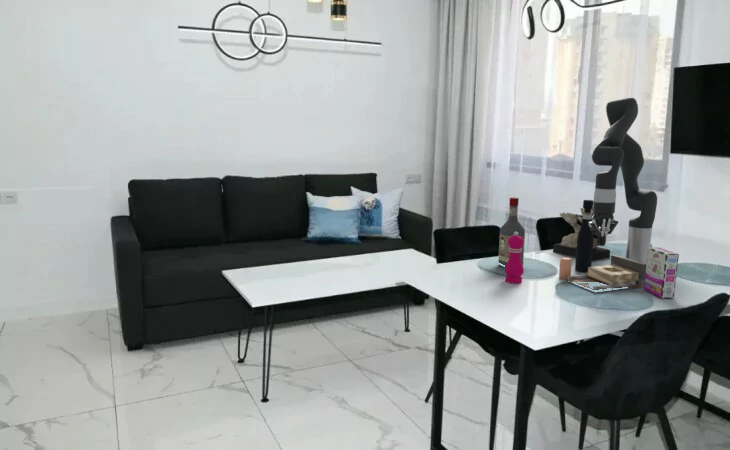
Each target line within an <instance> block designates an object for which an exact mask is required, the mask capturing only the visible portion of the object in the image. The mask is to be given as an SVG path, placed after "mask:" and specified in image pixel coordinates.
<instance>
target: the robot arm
mask: <svg viewBox="0 0 730 450" xmlns="http://www.w3.org/2000/svg"><path fill="white" fill-rule="evenodd" d="M605 111H606V117H607V121H608V123H609V128H607V130H606V131H605V133H604V136H603V139H602V140H601V141H600V142H599V143H598V144H597V145H596V146H595V148H594V149H593V151H592V154H591V161H592V162H593V163H594V164H595V165H596V166H602V167H603V166H604V167H607V166H608V167H611V168H610V169H609V170H608V171H601V172H597V173H596V177H595V186H594V192H593V212H594V215H593V216H592V218H593V220H592V221H591V222H588V223H587V224H588V226H589V228H590V229H591V231H592V232H593V235H595V236H597V237H596V239H597V244H598V245H599V246H600V247H604V246H606V242H607V236H608V235H612V232H613V231H614V230H615V228H616V227H617V225H618V224H619V221H618V220H616V219H615V218H614V217H615V216H614V214H615V210H616V200H617V189H616V188H617V179H618V173H619V172H620V171H619V170H621V175H622V178H623V185H624V193H625V201H626V205H627V207H628V208H629V209H630V210H632V211H638V212H640V214H639V216H638V217H633V218H631V219H629V221H628V228H627V229H628V230H627V240H626V249H625V258H628V259H631V260H635V261H638V262H641V263H645V264H647V255H648V248H653V244H651V243H652V234H653V233H652V232H653V225H654V221H655V220H656V219H655V218H656V213H657V206H658V195H657V193H656V192H655V191H652V190H646V189H640V187H639V183H638V178H639V175H640V173H641V172H642V170H643V168H644V164H645V159H644V154H643V149H642V147H641V145H640V143H638V142H637V141H636V140H635V139H634V138H633V137H631V135H629V134H628V131H629V130H630V128H631V127H632V126H633V125H634V122H635V121H636V119H637V117H638V114H639V104H638V102H637V100H636V98H634V97H624V98H619V99H614V100H610V101H608V102H607V103H606V106H605ZM599 246H598V247H599Z"/></svg>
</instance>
